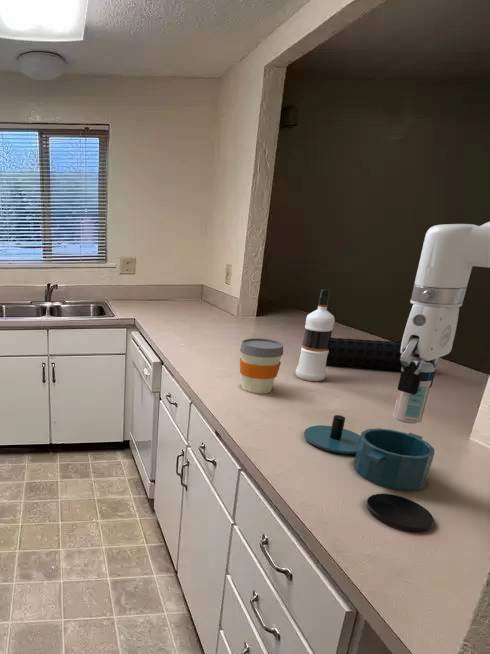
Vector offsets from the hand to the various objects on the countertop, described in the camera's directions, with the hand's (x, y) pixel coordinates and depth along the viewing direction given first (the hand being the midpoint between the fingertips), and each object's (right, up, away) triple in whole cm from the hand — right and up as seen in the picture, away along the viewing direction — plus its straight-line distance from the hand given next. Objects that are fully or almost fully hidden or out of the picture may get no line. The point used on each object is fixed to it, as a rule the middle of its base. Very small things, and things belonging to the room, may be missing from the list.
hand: (414, 388), depth 85 cm
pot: (0, -18, +7) cm, 20 cm away
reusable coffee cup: (-9, -1, +55) cm, 56 cm away
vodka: (+13, +2, +64) cm, 65 cm away
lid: (-4, -13, +20) cm, 24 cm away
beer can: (0, -7, +2) cm, 7 cm away
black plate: (-7, -23, -5) cm, 25 cm away
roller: (+36, +7, +75) cm, 83 cm away
